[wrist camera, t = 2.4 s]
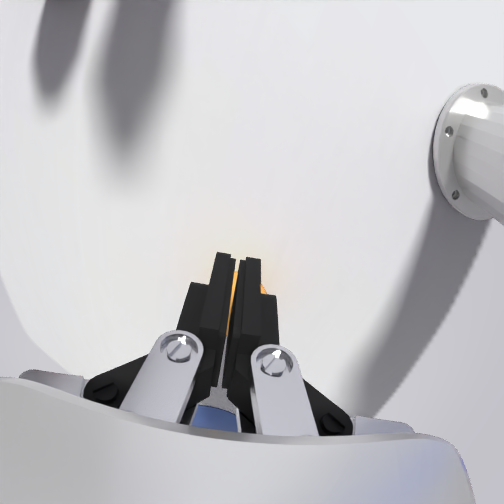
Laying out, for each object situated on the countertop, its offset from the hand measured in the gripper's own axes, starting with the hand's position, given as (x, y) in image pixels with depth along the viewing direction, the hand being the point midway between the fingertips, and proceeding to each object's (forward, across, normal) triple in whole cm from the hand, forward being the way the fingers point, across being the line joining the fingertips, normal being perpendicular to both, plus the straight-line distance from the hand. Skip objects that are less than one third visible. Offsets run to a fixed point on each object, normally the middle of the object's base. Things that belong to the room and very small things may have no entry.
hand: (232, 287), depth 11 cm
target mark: (+13, 0, +39) cm, 41 cm away
